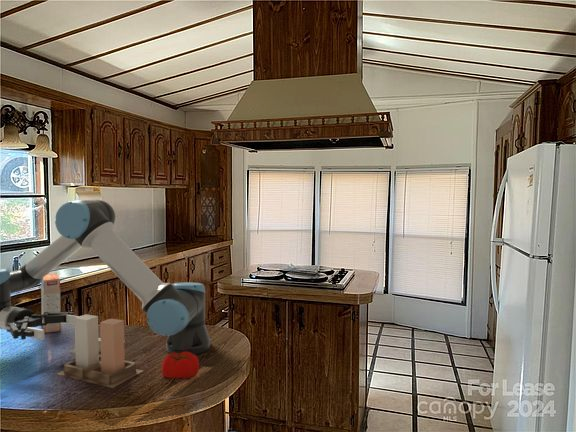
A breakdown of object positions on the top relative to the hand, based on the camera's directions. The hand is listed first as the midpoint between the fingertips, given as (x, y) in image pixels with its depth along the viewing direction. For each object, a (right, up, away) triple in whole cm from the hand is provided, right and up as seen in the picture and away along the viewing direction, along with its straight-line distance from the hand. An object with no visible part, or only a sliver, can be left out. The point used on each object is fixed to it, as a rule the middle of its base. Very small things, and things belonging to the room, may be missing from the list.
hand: (63, 327), depth 129 cm
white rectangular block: (+9, -12, -3) cm, 15 cm away
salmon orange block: (+18, -12, -7) cm, 23 cm away
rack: (+14, -13, -5) cm, 20 cm away
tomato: (+37, -14, -4) cm, 40 cm away
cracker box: (-26, -11, +39) cm, 48 cm away
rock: (+2, -13, +15) cm, 20 cm away
